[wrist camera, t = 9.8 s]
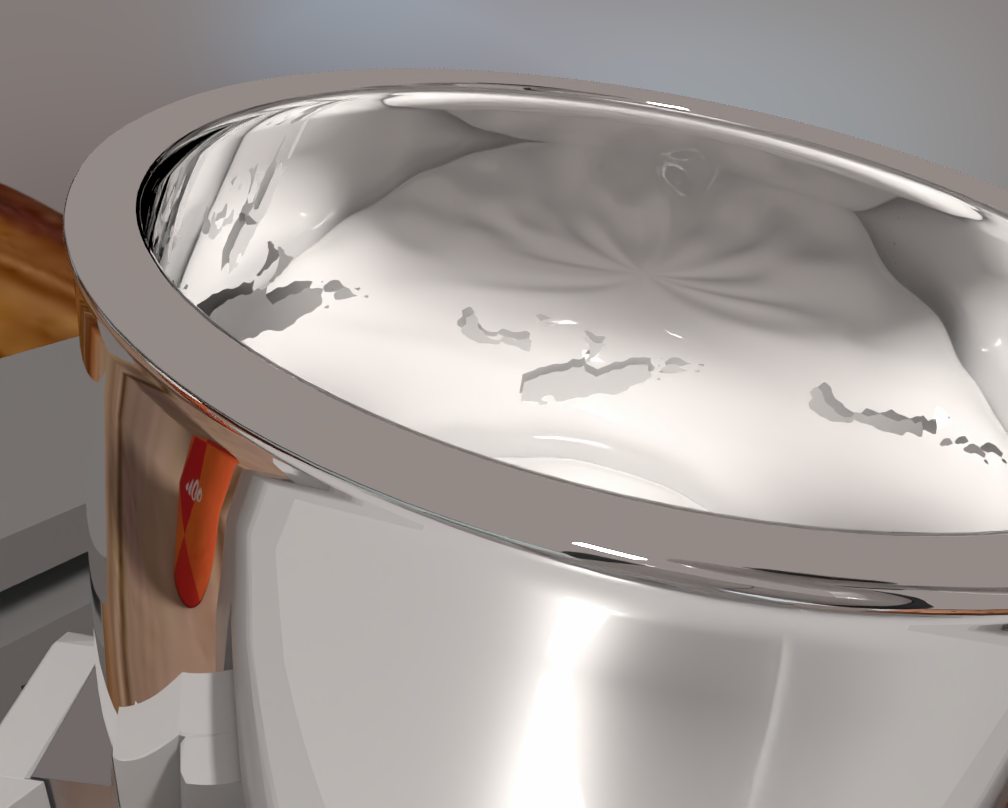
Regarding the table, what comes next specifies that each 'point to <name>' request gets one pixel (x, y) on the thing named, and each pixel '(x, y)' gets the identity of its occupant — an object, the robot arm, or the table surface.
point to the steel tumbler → (539, 452)
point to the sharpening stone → (41, 510)
